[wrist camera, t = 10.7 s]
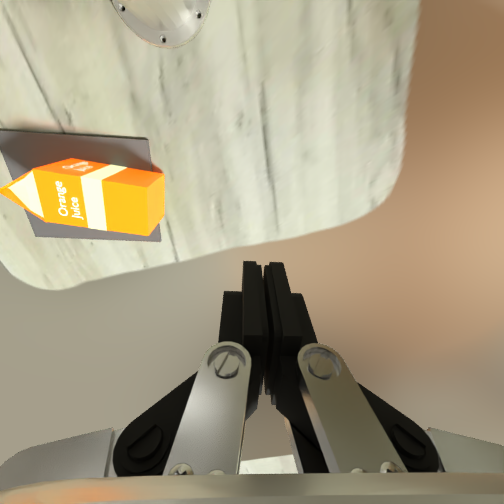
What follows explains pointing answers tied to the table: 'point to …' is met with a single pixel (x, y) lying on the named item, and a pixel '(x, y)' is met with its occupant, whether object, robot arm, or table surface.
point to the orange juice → (91, 196)
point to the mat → (77, 147)
